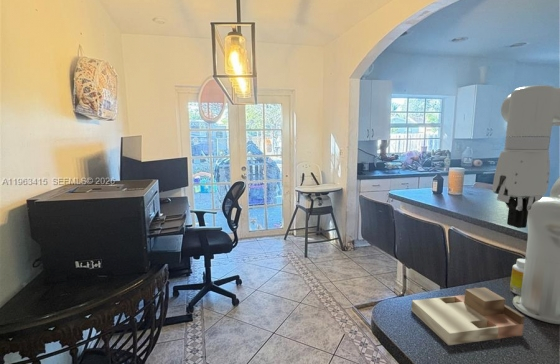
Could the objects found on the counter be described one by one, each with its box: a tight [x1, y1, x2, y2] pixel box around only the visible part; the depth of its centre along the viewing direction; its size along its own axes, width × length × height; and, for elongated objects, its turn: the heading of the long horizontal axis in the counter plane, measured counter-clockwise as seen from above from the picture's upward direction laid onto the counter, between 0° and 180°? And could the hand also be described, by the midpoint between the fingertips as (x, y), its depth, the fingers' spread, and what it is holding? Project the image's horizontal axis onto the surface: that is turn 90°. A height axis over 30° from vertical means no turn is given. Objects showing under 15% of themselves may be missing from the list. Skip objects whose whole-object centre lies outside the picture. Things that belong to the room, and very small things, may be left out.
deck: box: [411, 286, 525, 346], centre depth 76 cm, size 20×14×5 cm
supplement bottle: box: [509, 258, 525, 296], centre depth 90 cm, size 6×6×10 cm
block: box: [464, 287, 506, 316], centre depth 77 cm, size 6×6×4 cm
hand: (516, 226), depth 67 cm, fingers closed
